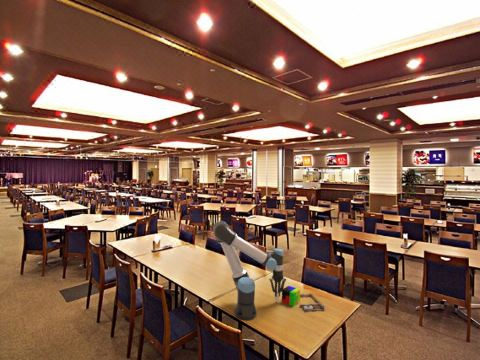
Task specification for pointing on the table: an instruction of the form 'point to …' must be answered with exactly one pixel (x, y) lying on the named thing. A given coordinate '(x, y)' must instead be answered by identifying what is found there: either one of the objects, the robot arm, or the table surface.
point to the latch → (308, 307)
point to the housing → (316, 307)
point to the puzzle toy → (291, 295)
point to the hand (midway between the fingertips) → (277, 300)
